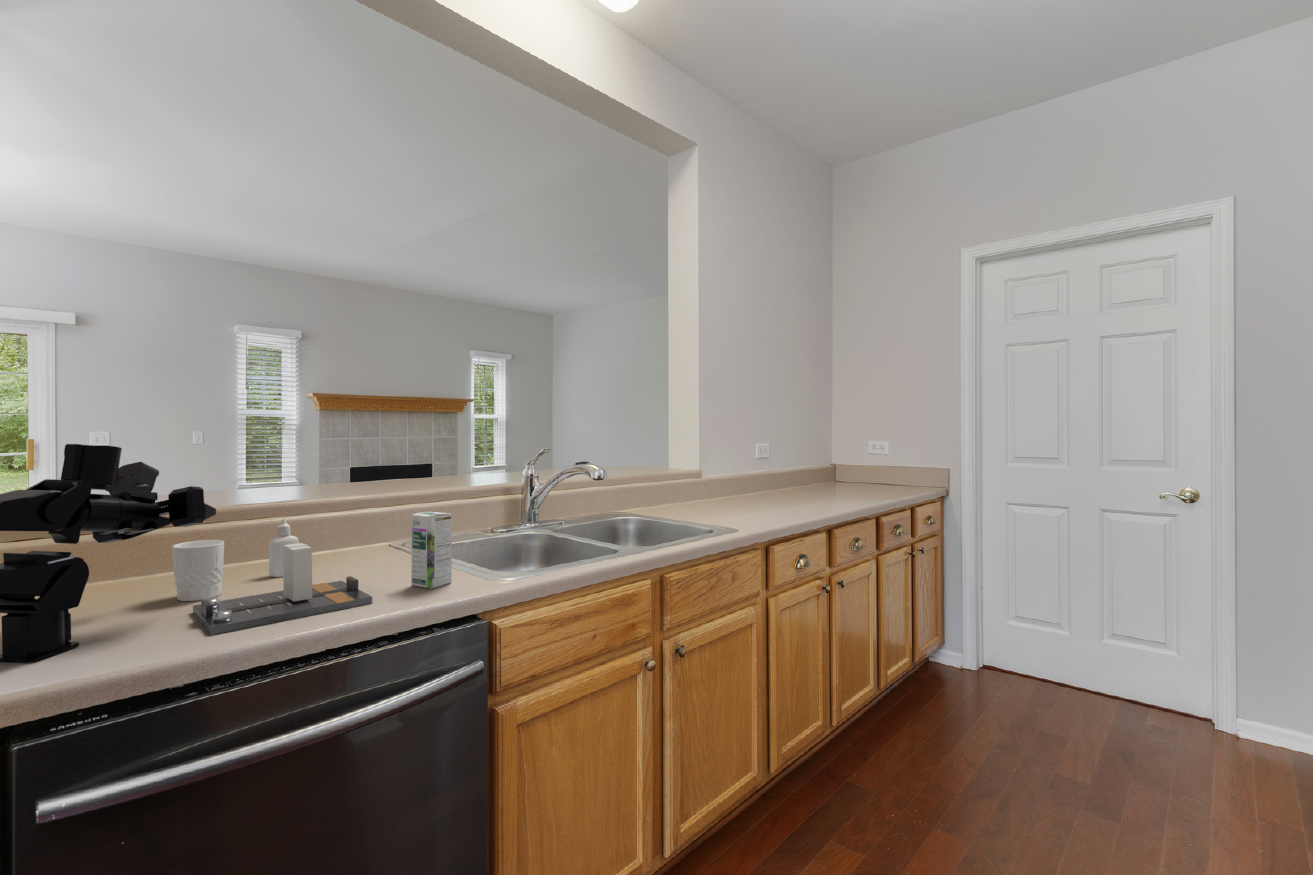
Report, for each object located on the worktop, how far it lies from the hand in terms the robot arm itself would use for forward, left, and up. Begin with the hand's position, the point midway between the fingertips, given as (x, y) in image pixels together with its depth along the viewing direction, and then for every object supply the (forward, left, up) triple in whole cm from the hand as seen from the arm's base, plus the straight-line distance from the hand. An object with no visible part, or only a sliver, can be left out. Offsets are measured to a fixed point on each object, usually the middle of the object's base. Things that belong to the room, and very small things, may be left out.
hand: (192, 516), depth 112 cm
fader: (-1, -20, -14) cm, 24 cm away
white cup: (+4, +2, -16) cm, 17 cm away
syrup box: (+15, -38, -16) cm, 44 cm away
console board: (-2, -19, -16) cm, 24 cm away
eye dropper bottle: (+21, -3, -16) cm, 26 cm away
